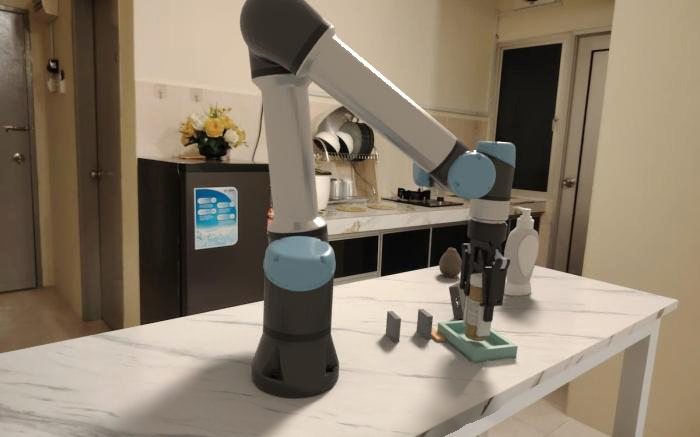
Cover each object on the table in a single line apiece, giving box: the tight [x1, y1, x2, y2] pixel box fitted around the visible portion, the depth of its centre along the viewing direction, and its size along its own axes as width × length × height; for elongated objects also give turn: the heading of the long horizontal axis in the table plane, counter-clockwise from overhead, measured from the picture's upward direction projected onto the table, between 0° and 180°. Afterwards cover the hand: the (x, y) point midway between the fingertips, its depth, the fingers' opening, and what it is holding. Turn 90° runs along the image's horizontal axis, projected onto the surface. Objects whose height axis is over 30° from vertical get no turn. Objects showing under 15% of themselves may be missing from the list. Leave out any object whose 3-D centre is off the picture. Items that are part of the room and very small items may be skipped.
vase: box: [438, 247, 462, 278], centre depth 148 cm, size 7×7×9 cm
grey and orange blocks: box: [385, 308, 447, 343], centre depth 102 cm, size 11×8×5 cm
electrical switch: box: [448, 281, 466, 320], centre depth 115 cm, size 9×5×9 cm, turn 141°
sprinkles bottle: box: [465, 273, 489, 341], centre depth 98 cm, size 5×5×14 cm
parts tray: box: [436, 319, 518, 364], centre depth 99 cm, size 10×14×2 cm
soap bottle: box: [503, 206, 540, 297], centre depth 135 cm, size 13×8×24 cm, turn 117°
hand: (475, 329), depth 99 cm, fingers closed on sprinkles bottle, 4 cm apart
